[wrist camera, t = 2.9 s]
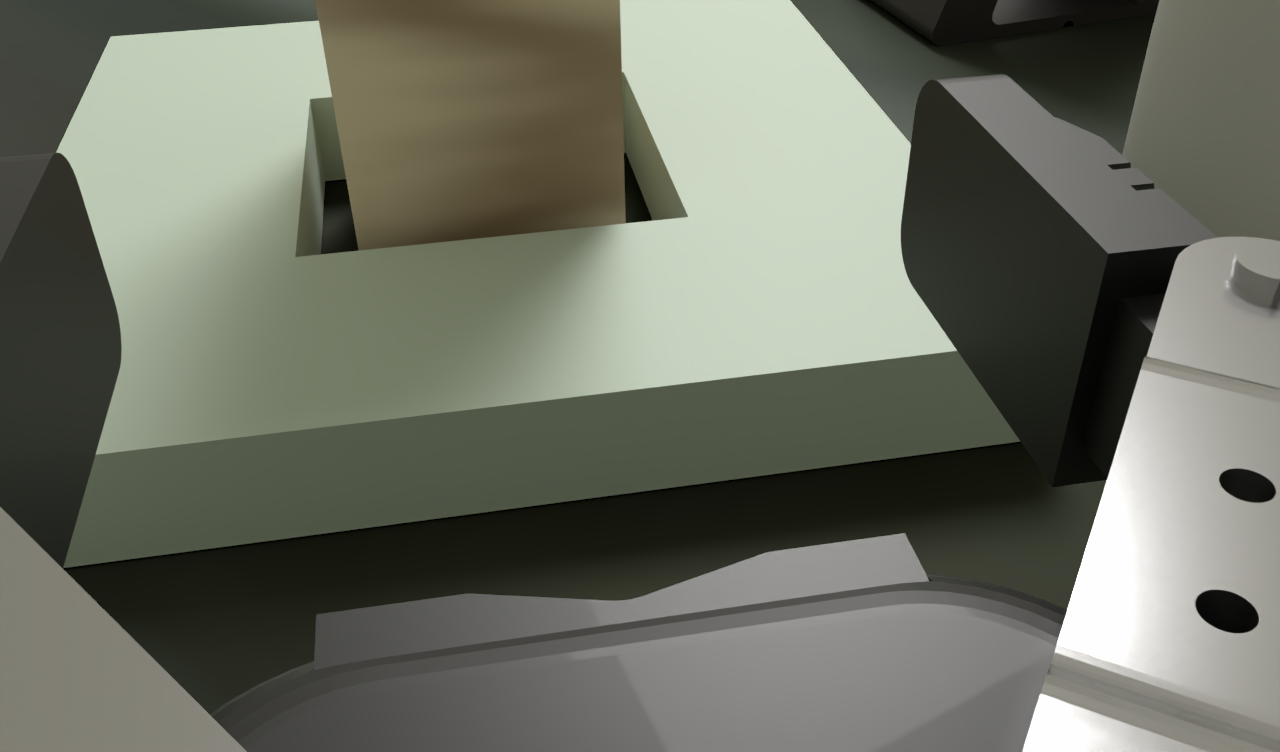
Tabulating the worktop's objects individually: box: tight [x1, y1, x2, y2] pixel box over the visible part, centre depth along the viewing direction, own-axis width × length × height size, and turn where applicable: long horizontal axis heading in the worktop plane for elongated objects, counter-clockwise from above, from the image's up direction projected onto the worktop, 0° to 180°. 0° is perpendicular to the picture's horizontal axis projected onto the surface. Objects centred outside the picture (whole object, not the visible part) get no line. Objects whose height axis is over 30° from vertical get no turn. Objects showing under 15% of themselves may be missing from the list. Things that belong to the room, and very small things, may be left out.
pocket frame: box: [56, 0, 1020, 568], centre depth 25 cm, size 17×17×2 cm
